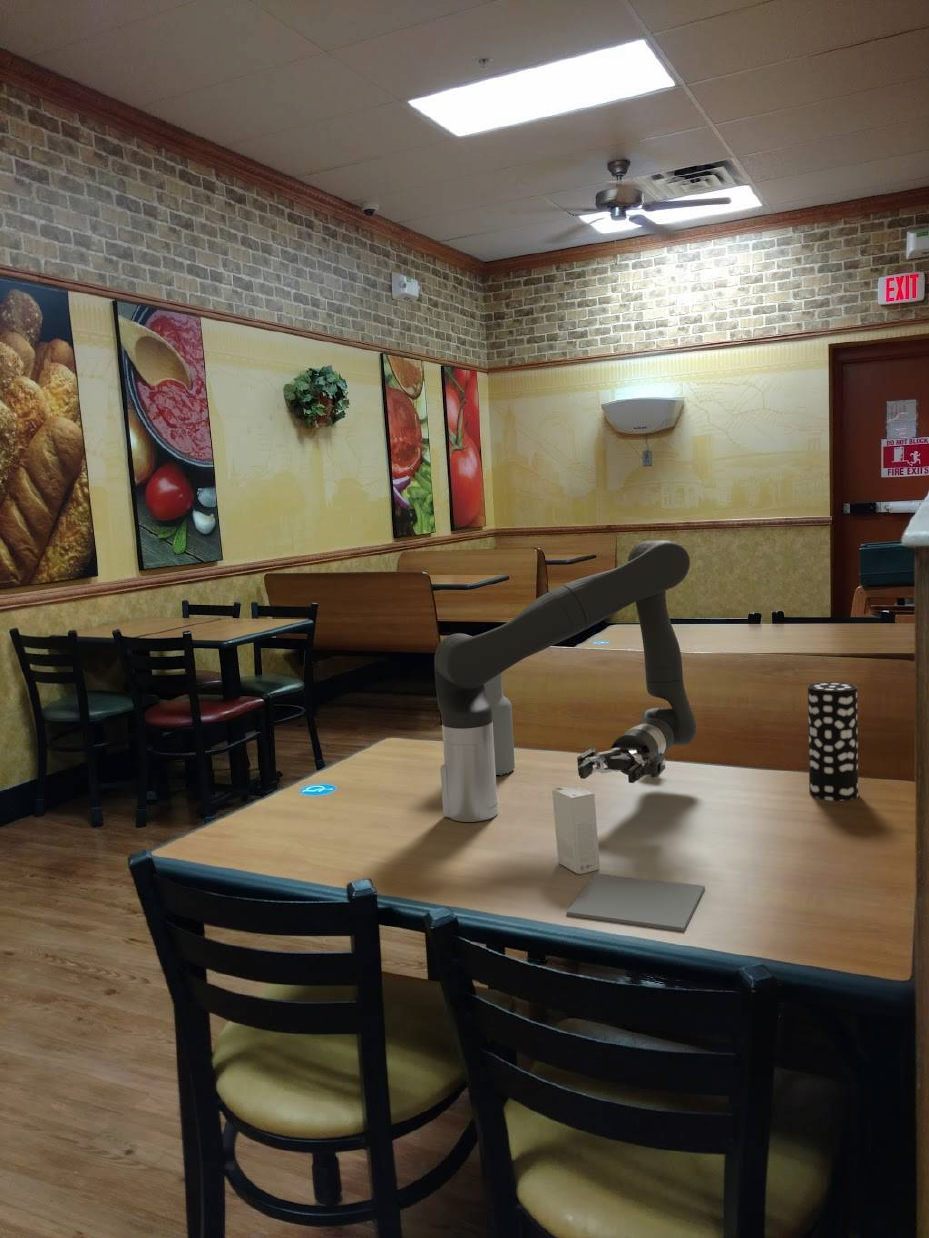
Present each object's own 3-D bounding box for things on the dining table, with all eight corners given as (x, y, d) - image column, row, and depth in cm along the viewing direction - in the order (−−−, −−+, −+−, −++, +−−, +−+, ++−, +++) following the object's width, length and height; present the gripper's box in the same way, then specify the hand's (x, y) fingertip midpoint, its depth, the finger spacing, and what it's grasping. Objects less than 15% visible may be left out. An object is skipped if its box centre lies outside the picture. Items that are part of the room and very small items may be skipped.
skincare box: (601, 869, 144) (597, 792, 143) (576, 876, 142) (572, 798, 141) (579, 857, 150) (575, 783, 148) (554, 863, 148) (551, 788, 146)
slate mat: (566, 915, 129) (566, 911, 129) (596, 876, 141) (596, 873, 141) (683, 931, 122) (683, 927, 122) (704, 889, 135) (704, 885, 135)
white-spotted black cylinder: (853, 803, 167) (852, 692, 165) (804, 797, 171) (803, 689, 169) (861, 789, 174) (861, 683, 172) (814, 784, 178) (813, 681, 176)
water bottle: (463, 777, 197) (455, 645, 193) (471, 764, 206) (463, 638, 203) (512, 777, 195) (504, 643, 192) (517, 764, 205) (510, 636, 201)
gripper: (600, 726, 172) (564, 750, 158) (676, 730, 165) (646, 755, 151) (603, 766, 173) (567, 793, 159) (679, 772, 166) (648, 801, 152)
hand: (605, 775), depth 155 cm, fingers open, 8 cm apart
